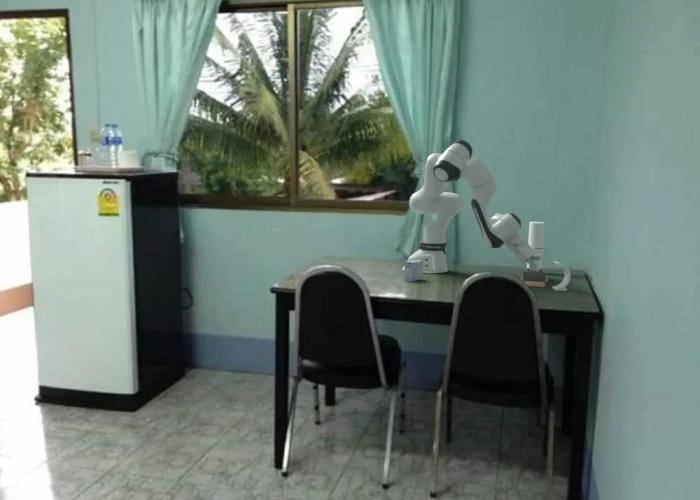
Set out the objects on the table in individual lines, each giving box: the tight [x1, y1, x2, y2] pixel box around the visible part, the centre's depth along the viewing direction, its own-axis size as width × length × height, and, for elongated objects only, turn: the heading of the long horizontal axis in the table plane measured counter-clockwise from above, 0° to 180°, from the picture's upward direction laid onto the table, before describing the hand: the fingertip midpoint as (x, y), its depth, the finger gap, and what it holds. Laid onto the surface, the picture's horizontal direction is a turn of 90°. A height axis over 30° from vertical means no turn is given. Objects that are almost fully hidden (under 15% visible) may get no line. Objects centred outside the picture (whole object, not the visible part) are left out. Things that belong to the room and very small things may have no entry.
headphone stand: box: [551, 260, 571, 291], centre depth 264 cm, size 5×6×12 cm
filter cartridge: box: [529, 256, 541, 272], centre depth 285 cm, size 5×5×10 cm
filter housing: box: [520, 267, 549, 284], centre depth 286 cm, size 12×12×4 cm
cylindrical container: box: [526, 221, 546, 269], centre depth 302 cm, size 7×7×25 cm
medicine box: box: [403, 260, 423, 282], centre depth 281 cm, size 8×4×9 cm, turn 135°
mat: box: [523, 281, 546, 288], centre depth 275 cm, size 9×9×1 cm
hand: (536, 265), depth 285 cm, fingers closed on filter cartridge, 5 cm apart
